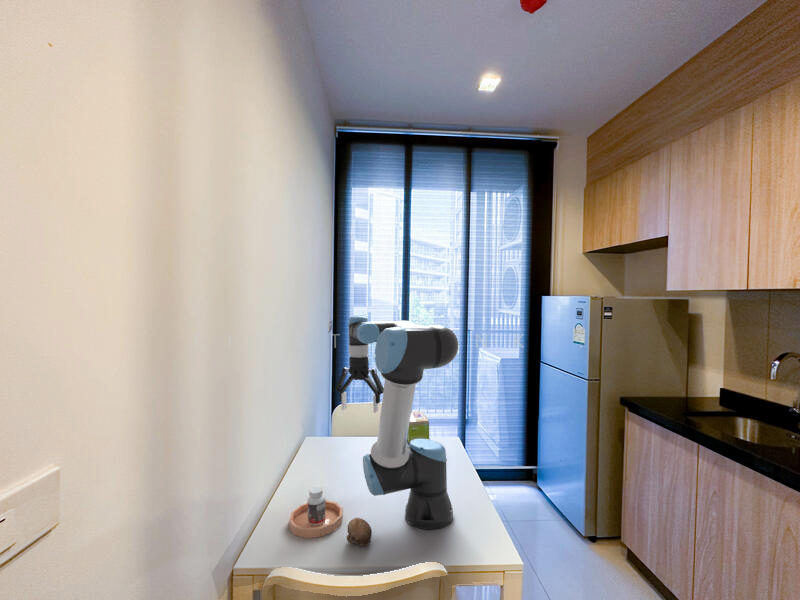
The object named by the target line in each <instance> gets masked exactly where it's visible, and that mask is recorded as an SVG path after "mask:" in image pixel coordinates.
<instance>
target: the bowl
mask: <svg viewBox="0 0 800 600" xmlns="http://www.w3.org/2000/svg"><path fill="white" fill-rule="evenodd" d="M343 510H344V509H343V506H341V505H340V504H339V503H338V502H335V501H331V500H327V499H325V512H326V520H325V522H324V523H323V524H321V525H318V526H312V525H310V524H309V523H308V502H306V503H303V504H300V505H299V506H297V507H296V508H295V509H294V510H292V511H291V513H290V515H289V519H288V527H289V529H290V531H291V533H292V534H293V535H295V536H298V537H301V538H304V539H309V538H310V539H311V538H321V537H325V536H327V535H328V534H331V533H334V532H335V531H336V530H337V529H338V528H339V527H340V526H341V525H342V524H343V519H344V518H343V517H344V511H343Z"/></svg>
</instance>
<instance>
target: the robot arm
mask: <svg viewBox="0 0 800 600" xmlns="http://www.w3.org/2000/svg"><path fill="white" fill-rule="evenodd" d="M347 326H348V355H349V357H348V358H349V359H348V366H349V368H348V367H347V366H345V367H343V368H342V369H341V374H340V376H339V379H338V382H337V384H336V386H335V388H334V391H336V392H338V393H339V401H340V402H341V410H342V411H344V410H346V409H347V405H348V403H347V402H348V401H347V400H348V398H347V396H348V395H347V391H346V390H347V388H348V387H349V386H350V385H351V383H352V382H353V381H354V380H355V381H358V380H359V381H364V382H365V383H366V384H367V385H368V387H369V388H370V390H371V391H372V393H374V394H373V395H372V396H373V397H372V398H373V401H372V402H373V403H372V405H373V413H374V414H376V413H377V412H378V411H379V403H381V408H380V416H379V424H378V431H377V432H378V433H377V440H376V442H374V443H373V445H372V446H371V449H370V454H369V453H367V454H365V455H364V456H363V457H362V468H363V473H364V478H365V482H366V486H367V489H368V491H369V493H370V495H373V496H382V495H383V496H386V495H388V494H392V493H398V492H401V491H402V492H403V491H405V490H409V489H410V491H409V496H408V499H407V503H406V505H405V509H404V510H405V512H404V513H405V518H406V520H407V522H408V523H409V524H410V525H411V526H414V527H415V528H418V529H422V530H438V529H441V528H445V527H447V526H448V525H449V524H450V523H452V521H453V520H454V511H453V510H454V509H453V505H452V502H451V499H450V497H449V494H448V484H447V483H448V482H447V480H448V479H447V478H448V477H447V461H448V459H447V452H446V447H445V446H444V445H443V443H441V442H439V441H437V440H433V439H430V440H429V439H414V440H412V441H410V443H409V447H408V448H407V447H406V441H407V435H408V429H409V423H410V417H411V412H412V409H413V403H414V398H415V390H416V385H417V384H418V383H420V382H421V381H422V379H423V377H424V370H430V369H431V370H432V369H433V370H434V369H439V368H442V367H445V366H446V365H449V364H450V363H452V362H453V360H454V359H455V358H456V356H457V354H458V351H459V341H458V337H457V335H456V334H455V333H454V332H453V330H451V329H450V328H448V327H445V326H442V325H419V324H414V323H413V322H412V321H411V320H396V321H394V320H393V321H369V319H368V317H367V315H366V316H361V315H359V316H357V315H356V316H350V317H349V318H348V324H347ZM374 343H375V347H374V356H375V357H374V361H375V366H376V367H375V368H369V365H370V362H369V359H370V358H369V356H368V355H369V344H374ZM377 371H378V372H380V375H381V376H382V378H383V379H384V385H383V384H382V381H381V380H380V377H379V375H378V372H377ZM348 374H350V375H349V377H348V378H347V379H346V377H347V376H348ZM369 374H370V375H371V376H370V375H369ZM371 377H372V378H371ZM372 379H373V380H372ZM345 380H346V381H345ZM344 381H345V382H344ZM381 395H382V402H381Z"/></svg>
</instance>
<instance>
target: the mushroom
mask: <svg viewBox="0 0 800 600" xmlns="http://www.w3.org/2000/svg"><path fill="white" fill-rule="evenodd" d="M372 536H373V531H372V527H371V526H370V524H369V523H368V521H366V520H365V519H363V518H360V517H354V518H352V519H351V520H350V521H349V522H348V524H347V536H346V541H347V542H348V543H350V544H354V543H355V544H357V545H358V546H360V547H366V546H367V545H369V544H370V542H371V540H372Z"/></svg>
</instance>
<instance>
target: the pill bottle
mask: <svg viewBox="0 0 800 600" xmlns="http://www.w3.org/2000/svg"><path fill="white" fill-rule="evenodd" d="M308 493H309V497H308V498H307V503H308V523H309V524H310V525H312V526H318V525H321V524H323V523H324V522H325V520H326V512H325V500H326V496H325V495H324V494H323V493H324V490H323V488H322V487H320V486H315V487H312V488H310V489H309V492H308Z"/></svg>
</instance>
